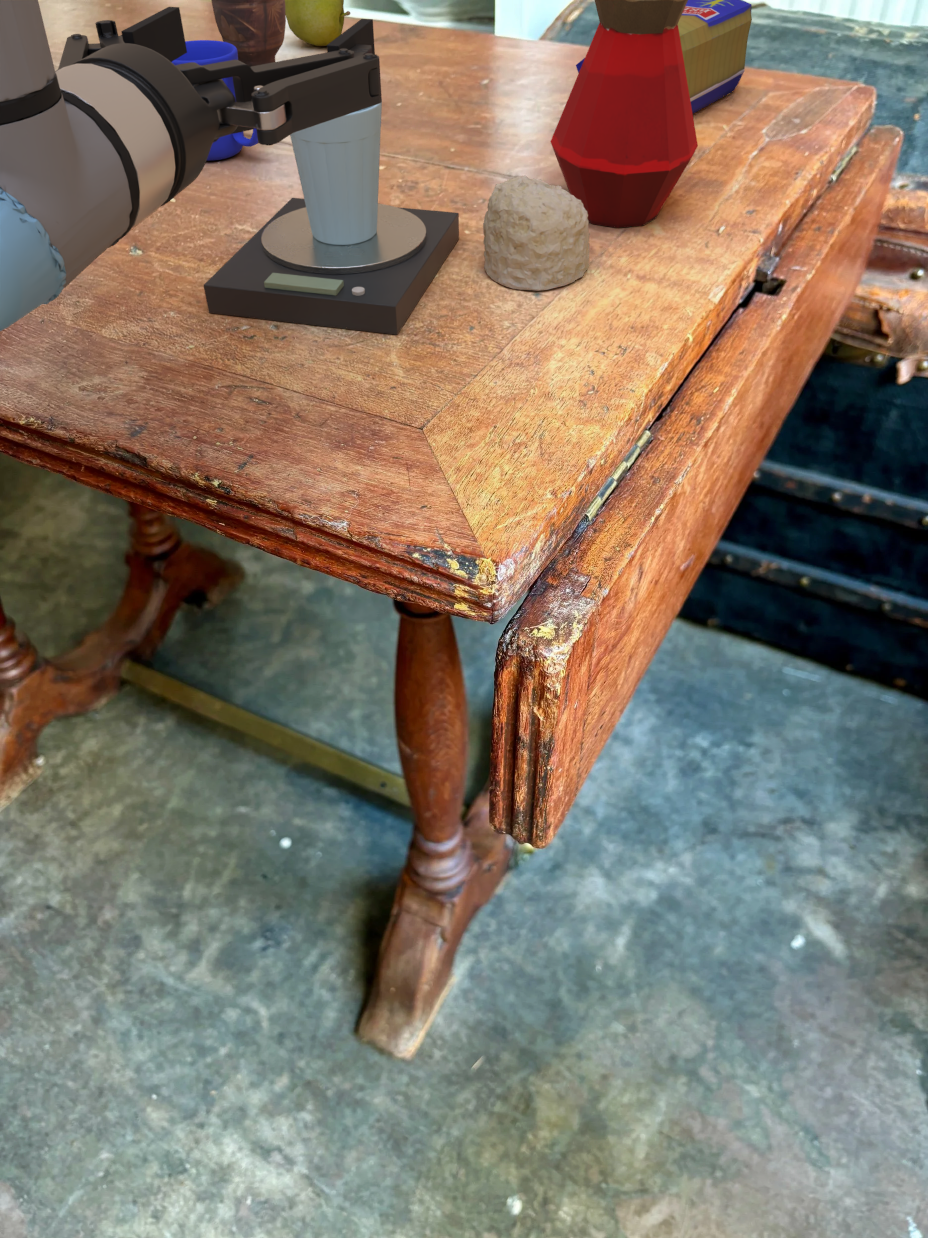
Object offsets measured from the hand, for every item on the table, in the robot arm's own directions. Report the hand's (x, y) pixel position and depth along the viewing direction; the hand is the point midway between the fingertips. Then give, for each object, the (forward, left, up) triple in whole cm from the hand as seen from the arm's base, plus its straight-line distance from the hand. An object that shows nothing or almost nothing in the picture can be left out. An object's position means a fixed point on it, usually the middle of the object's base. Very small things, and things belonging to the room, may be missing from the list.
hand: (271, 35), depth 66 cm
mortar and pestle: (-27, +54, -20) cm, 64 cm away
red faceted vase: (+21, +28, -20) cm, 41 cm away
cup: (0, +10, -17) cm, 20 cm away
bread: (+22, +60, -20) cm, 67 cm away
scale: (0, +8, -20) cm, 22 cm away
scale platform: (0, +10, -18) cm, 20 cm away
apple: (-28, +78, -20) cm, 86 cm away
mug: (-22, +33, -20) cm, 45 cm away
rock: (+16, +13, -20) cm, 29 cm away
